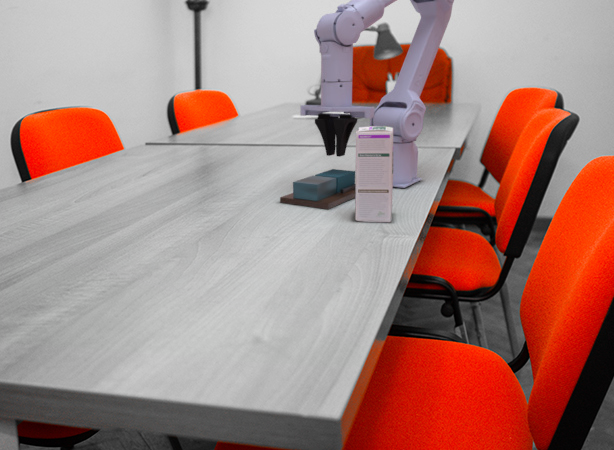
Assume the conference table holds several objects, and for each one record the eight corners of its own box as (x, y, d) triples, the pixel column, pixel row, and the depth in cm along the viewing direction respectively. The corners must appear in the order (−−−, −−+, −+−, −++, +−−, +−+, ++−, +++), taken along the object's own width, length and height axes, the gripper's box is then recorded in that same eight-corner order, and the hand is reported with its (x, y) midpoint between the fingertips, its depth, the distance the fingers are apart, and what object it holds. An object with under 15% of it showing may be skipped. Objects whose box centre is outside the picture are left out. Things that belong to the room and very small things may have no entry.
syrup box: (391, 222, 90) (395, 129, 86) (353, 221, 91) (355, 129, 87) (391, 213, 95) (395, 125, 91) (355, 212, 96) (357, 125, 92)
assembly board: (323, 186, 117) (323, 167, 116) (368, 192, 111) (368, 171, 110) (280, 202, 104) (279, 181, 103) (328, 209, 99) (328, 186, 97)
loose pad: (332, 183, 114) (332, 169, 114) (355, 186, 112) (355, 171, 111) (314, 190, 109) (314, 174, 108) (338, 193, 106) (338, 177, 105)
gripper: (291, 82, 106) (292, 155, 109) (362, 82, 98) (360, 161, 101) (311, 81, 111) (311, 150, 115) (380, 81, 103) (377, 155, 107)
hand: (335, 155), depth 109 cm, fingers closed
